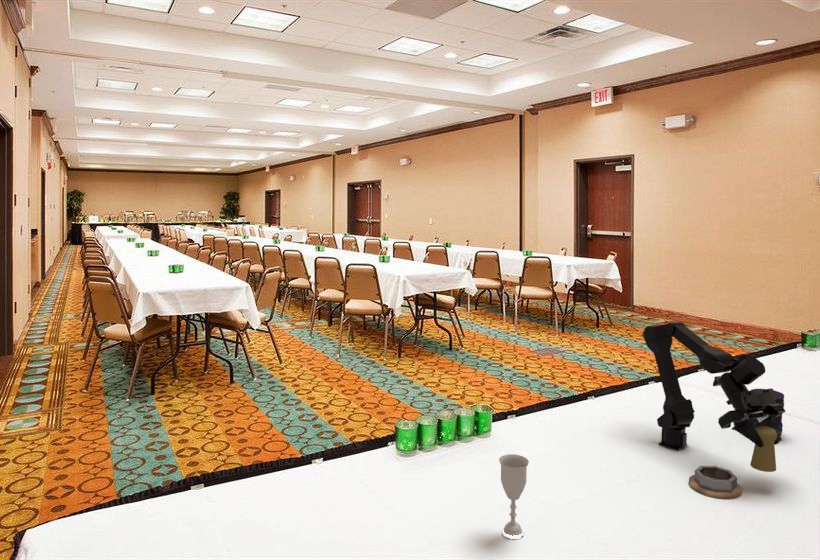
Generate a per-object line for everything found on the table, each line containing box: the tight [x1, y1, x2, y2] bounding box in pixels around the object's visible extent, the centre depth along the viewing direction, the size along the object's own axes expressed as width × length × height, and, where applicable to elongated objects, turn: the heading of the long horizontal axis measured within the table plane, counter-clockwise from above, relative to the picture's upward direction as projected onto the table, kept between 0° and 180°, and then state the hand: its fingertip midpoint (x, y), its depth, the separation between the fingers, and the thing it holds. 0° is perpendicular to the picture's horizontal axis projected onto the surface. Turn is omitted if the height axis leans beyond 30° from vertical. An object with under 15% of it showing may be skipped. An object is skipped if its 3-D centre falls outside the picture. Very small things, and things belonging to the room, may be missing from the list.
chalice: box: [498, 453, 530, 536], centre depth 140 cm, size 7×7×18 cm
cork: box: [749, 426, 777, 473], centre depth 160 cm, size 6×6×11 cm
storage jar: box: [749, 388, 785, 443], centre depth 197 cm, size 10×10×15 cm
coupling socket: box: [688, 465, 743, 500], centre depth 163 cm, size 13×13×4 cm
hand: (769, 445), depth 159 cm, fingers closed on cork, 5 cm apart
